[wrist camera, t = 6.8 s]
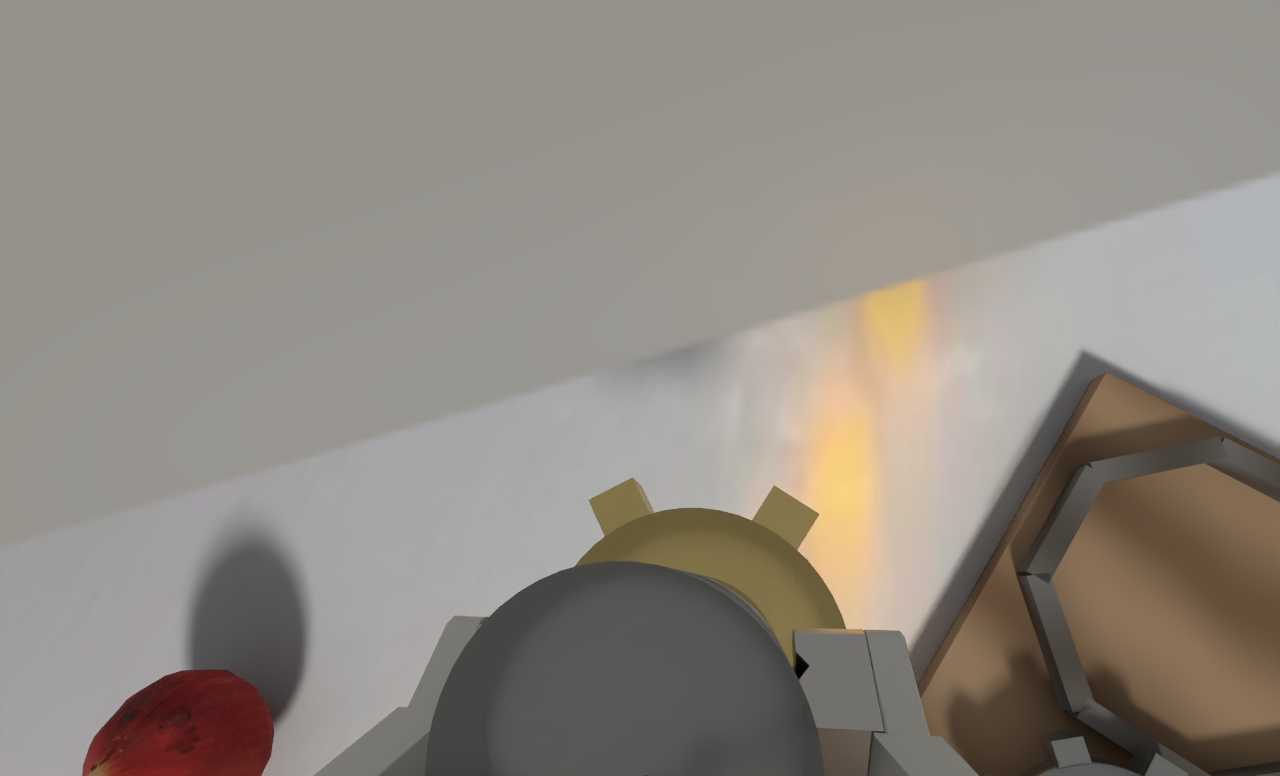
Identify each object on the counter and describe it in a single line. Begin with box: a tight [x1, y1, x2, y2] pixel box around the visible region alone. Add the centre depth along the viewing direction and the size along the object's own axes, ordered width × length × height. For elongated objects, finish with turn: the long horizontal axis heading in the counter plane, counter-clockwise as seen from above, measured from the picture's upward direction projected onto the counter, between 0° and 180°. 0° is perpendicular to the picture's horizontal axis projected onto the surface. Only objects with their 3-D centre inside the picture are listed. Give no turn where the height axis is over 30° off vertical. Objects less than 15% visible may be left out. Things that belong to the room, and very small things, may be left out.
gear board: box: [918, 372, 1280, 776], centre depth 25 cm, size 22×13×2 cm, turn 146°
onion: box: [82, 670, 274, 776], centre depth 26 cm, size 6×6×8 cm
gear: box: [425, 478, 846, 776], centre depth 11 cm, size 8×8×10 cm
